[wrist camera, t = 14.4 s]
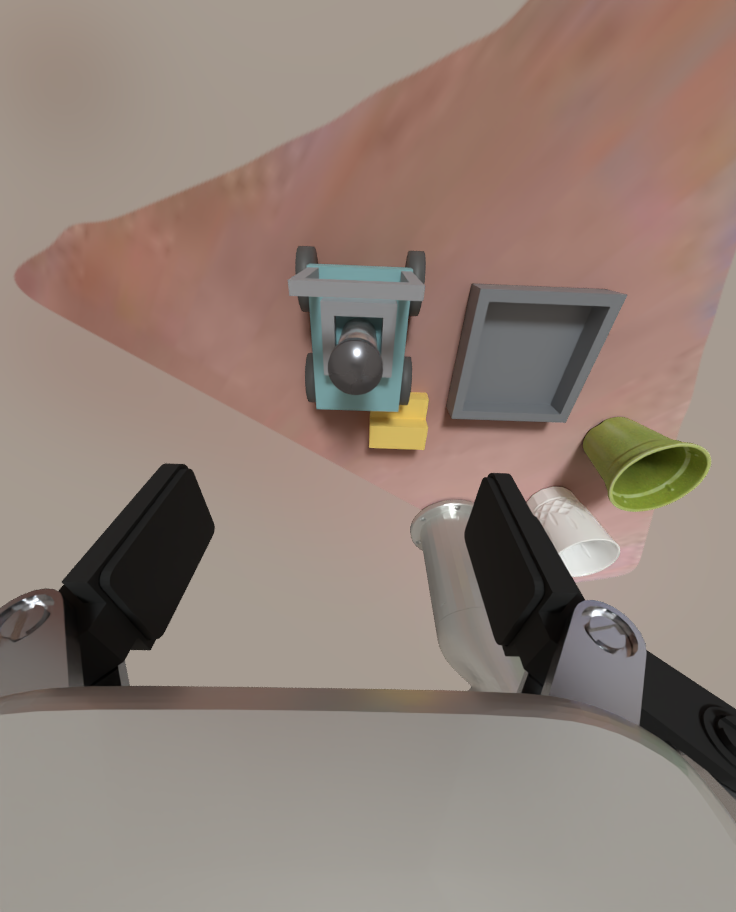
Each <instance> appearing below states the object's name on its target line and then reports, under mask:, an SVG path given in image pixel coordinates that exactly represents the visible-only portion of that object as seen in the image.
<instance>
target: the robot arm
mask: <svg viewBox="0 0 736 912" xmlns="http://www.w3.org/2000/svg"><path fill="white" fill-rule="evenodd" d="M214 528H215V526H214V522H213V520H212V517H211V515H210V512H209V510H208V507H207V505H206V502H205V500H204V497H203V495H202V493H201V490H200V487H199V485H198V482H197V480H196V477H195V475H194V472H193V471H192V470H191V469H188V467H187V466H186V465H185V464H163V465H162V466H161V467H160V468H159V469H158V470H157V471H156V472H155V473H154V475H153V476H152V477H151V478H150V479H149V480H148V482H147V483H146V484H145V485H144V486H143V487H142V489H141V490H140V491H139V492H138V493H137V494H136V495H135V497H134V498H133V499H132V500H131V501H130V502H129V504H128V505H127V506H126V507H125V508H124V510H123V511H122V512H121V513H120V514H119V515H118V516H117V518H116V519H115V520H114V521H113V522H112V523H111V525H110V526H109V527H108V528H107V529H106V530H105V532H104V533H103V534H102V535H101V536H100V537H99V539H98V540H97V541H96V542H95V543H94V545H93V546H92V547H91V548H90V549H89V550H88V552H87V553H86V554H85V555H84V556H83V557H82V559H81V560H80V561H79V562H78V563H77V564H76V565H75V567H74V568H73V569H72V570H71V572H69V574H68V575H67V576H66V577H65V578H64V580H63V581H62V583H63V584H64V585H63V586H62V587H61V589H60V590H59V591H57V590H55V589H39V590H34V591H31V592H28V593H25V594H23V595H21V596H19V597H17V598H15V599H13V600H11V601H9V602H8V603H7V604H5V605H4V606H2V607H1V608H0V912H736V709H735V708H733V707H732V706H730V705H729V704H727V703H726V702H724V701H723V700H721V699H720V698H718V697H717V696H715V695H714V694H712V693H710V692H709V691H707V690H706V689H705V688H703V687H701V686H700V685H698V684H697V683H695V682H694V681H692V680H691V679H689V678H688V677H686V676H685V675H683V674H682V673H680V672H679V671H677V670H676V669H674V668H673V667H671V666H670V665H668V664H667V663H665V662H663V661H662V660H661V659H659V658H658V657H656V656H655V655H653V654H652V653H650V652H649V651H647V650H646V643H645V641H644V639H643V637H642V635H641V633H640V631H639V630H638V629H637V627H636V626H635V625H634V623H633V622H632V621H631V620H630V619H629V618H628V617H626V616H625V615H624V614H623V613H622V612H620V611H619V610H617V609H616V608H614V607H612V606H610V605H608V604H606V603H604V602H600V601H595V600H585V599H584V597H583V596H582V594H581V592H580V590H579V589H578V587H577V585H576V583H575V582H574V580H573V578H572V576H571V575H570V573H569V571H568V569H567V568H566V566H565V564H564V562H563V561H562V559H561V557H560V555H559V554H558V552H557V550H556V548H555V547H554V545H553V543H552V541H551V540H550V538H549V536H548V535H547V533H546V531H545V529H544V528H543V526H542V524H541V522H540V521H539V519H538V518H537V517H536V516H534V515H533V514H532V512H531V510H530V508H529V506H528V505H527V503H526V501H525V499H524V498H523V496H522V494H521V492H520V490H519V489H518V487H517V485H516V483H515V482H514V480H513V478H512V476H511V475H510V474H506V473H490V474H489V475H488V477H484V478H483V479H482V482H481V485H480V488H479V491H478V493H477V496H476V499H475V502H474V503H473V502H470V501H465V500H446V501H441V502H437V503H435V504H432V505H430V506H428V507H426V508H424V509H423V510H422V511H420V512H419V513H418V514H417V515H416V516H415V518H414V519H413V521H412V524H411V527H410V533H411V538H412V541H413V543H414V544H415V545H416V546H417V547H418V548H419V549H421V550H423V553H424V559H425V565H426V571H427V577H428V584H429V590H430V596H431V602H432V608H433V615H434V620H435V627H436V632H437V638H438V643H439V646H440V649H441V651H442V654H443V655H444V657H445V659H446V660H447V662H448V663H449V664H450V665H451V667H452V668H453V669H454V670H455V671H456V672H457V673H458V674H459V675H460V676H462V678H464V679H465V680H466V681H467V682H468V683H469V684H470V685H471V688H470V690H468V691H445V690H396V689H342V688H338V689H337V688H277V687H194V686H191V687H189V686H188V687H187V686H130V685H129V679H128V674H127V669H126V664H125V658H126V657H127V655H128V653H129V651H130V650H151V648H152V646H153V644H154V642H155V640H156V639H159V638H160V637H161V636H162V635H163V634H164V632H165V630H166V628H167V626H168V624H169V622H170V620H171V618H172V616H173V614H174V612H175V610H176V608H177V606H178V604H179V602H180V600H181V598H182V596H183V594H184V592H185V590H186V588H187V586H188V584H189V582H190V580H191V578H192V576H193V574H194V572H195V570H196V568H197V566H198V564H199V562H200V560H201V558H202V556H203V554H204V552H205V550H206V548H207V546H208V544H209V542H210V540H211V538H212V536H213V534H214Z"/></svg>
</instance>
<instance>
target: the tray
mask: <svg viewBox="0 0 736 912" xmlns="http://www.w3.org/2000/svg"><path fill="white" fill-rule="evenodd" d="M626 297H627V294H623V293H619V292H615V291H611V290H607V289H589V288H565V287H542V286H518V285H494V284H472V285H471V290H470V295H469V299H468V304H467V309H466V314H465V319H464V323H463V328H462V333H461V338H460V342H459V347H458V352H457V357H456V362H455V366H454V371H453V376H452V381H451V386H450V390H449V395H448V400H447V405H446V407H447V409H448V412H449V414H450V416H451V419H477V420H505V421H534V422H563V423H566V421H567V419H568V417H569V415H570V413H571V410H572V408H573V406H574V404H575V402H576V400H577V398H578V396H579V394H580V392H581V390H582V388H583V386H584V384H585V381H586V379H587V377H588V375H589V373H590V371H591V369H592V367H593V365H594V363H595V361H596V359H597V357H598V355H599V352H600V350H601V348H602V346H603V344H604V342H605V340H606V338H607V336H608V334H609V332H610V330H611V328H612V326H613V323H614V321H615V319H616V317H617V315H618V313H619V311H620V309H621V307H622V305H623V303H624V301H625V299H626Z"/></svg>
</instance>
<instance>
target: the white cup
mask: <svg viewBox="0 0 736 912" xmlns="http://www.w3.org/2000/svg"><path fill="white" fill-rule="evenodd" d="M527 505H528V506H529V508H530V510H531V512H532V514H533V515H534V516H536V517H537V518H538V519H539V521H540V522H541V524H542V526H543V528H544V529H545V531H546V533H547V535H548V536H549V538H550V540H551V541H552V543H553V545H554V547H555V548H556V550H557V552H558V554H559V555H560V557H561V559H562V561H563V562H564V564H565V566H566V568H567V569H568V571H569V573H570V575H571V576H572V577H580V576H586V575H590V574H594V573H596V572H599V571H601V570H603V569H605V568H607V567H608V566H610V565H611V564H613V563H614V562H615V561H616V559H617V558H618V557H619V554H620V547H619V545H618V544H617V543H616V542H615V541H614V540H613V538H612V537H611V536H610V535H609V534H608V533H607V531H606V530H605V529H604V528H603V527H602V526H601V524H600V523H599V522H598V521H597V520H596V518H595V517H594V516H593V515H592V514H591V513H590V512H589V511H588V510H587V508H586V507H585V506H584V505H583V504H582V503H580V502H579V500H578V499H577V498H576V497H575V496H574V494H573V493H572V492H571V491H570V490H568V489H566V488H564V487H549V488H545V489H542V490H540V491H538V492H537V493H535V494H533V495H532V496H531V498H530V499H529V500H528V501H527Z"/></svg>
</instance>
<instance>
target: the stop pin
mask: <svg viewBox="0 0 736 912" xmlns="http://www.w3.org/2000/svg"><path fill="white" fill-rule="evenodd" d="M328 374H329V377H330V380H331V381H332V383H333V384H334V385H335V387H336V388H338V389H339V390H340V391H342V392H344V393H347V394H350V395H362V394H366V393H368V392H370V391H372V390H373V389H374V388H375V387H376V386H377V385H378V384H379V382H380V380H381V378H382V374H383V362H382V357H381V354H380V352H379V350H378V349H377V335H376V330H375V328H374V326H373V325H372V324H371V323H370V322H369V321H368V320H366V319H363V318H354V319H351V320H349V321H348V322H347V323H346V324H345V325H344V327H343V329H342V332H341V335H340V339H339V343H338V344H337V345H336V346H335V347H334V349H333V350H332V352H331V354H330V358H329V361H328Z"/></svg>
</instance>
